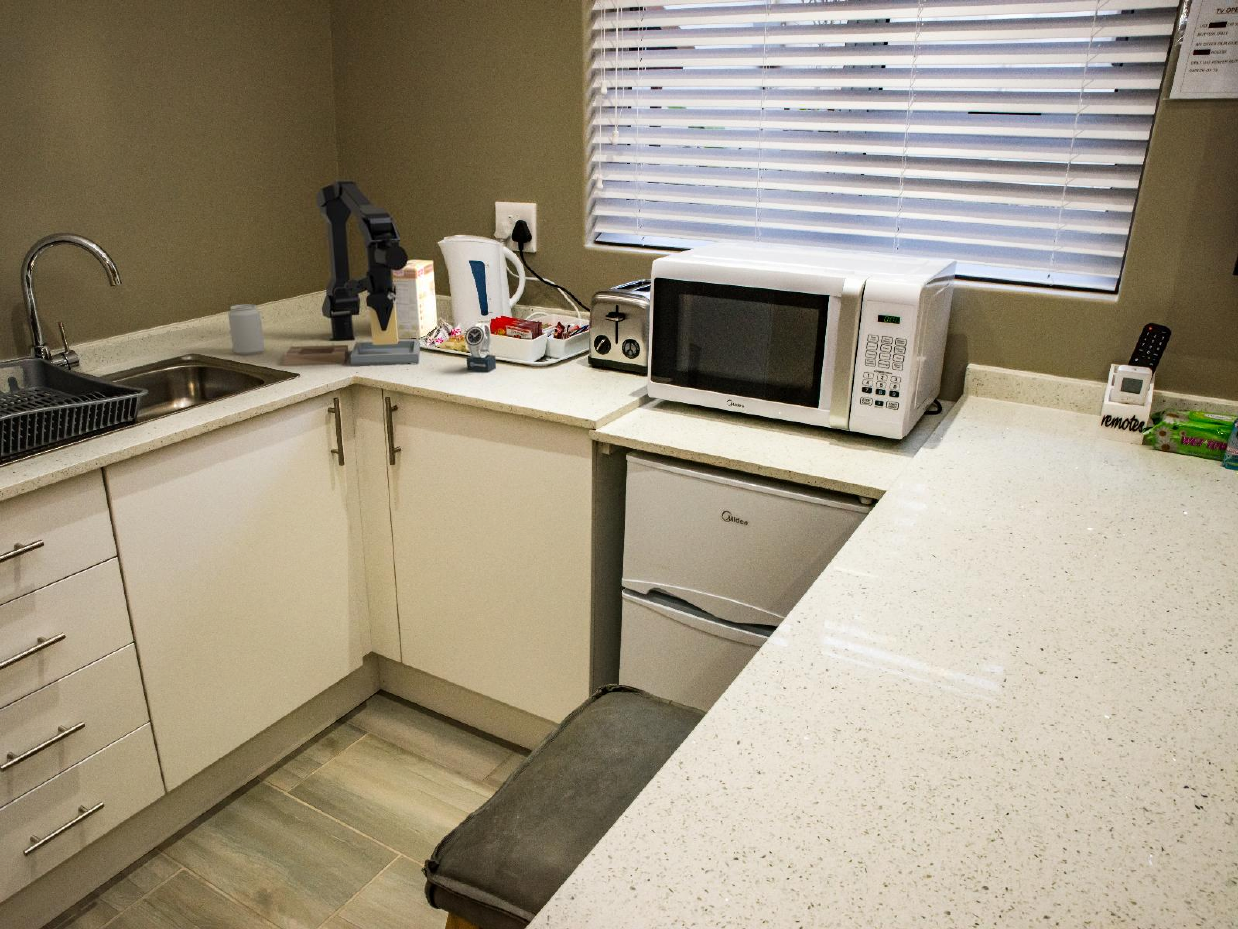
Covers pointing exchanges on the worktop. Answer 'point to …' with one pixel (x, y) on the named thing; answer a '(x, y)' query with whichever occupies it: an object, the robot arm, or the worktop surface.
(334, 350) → the brown wooden frame
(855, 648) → the worktop surface
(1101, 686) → the worktop surface
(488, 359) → the watch
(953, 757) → the worktop surface
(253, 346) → the can
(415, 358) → the parts tray
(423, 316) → the coffeecake box
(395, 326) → the tan rectangular block
